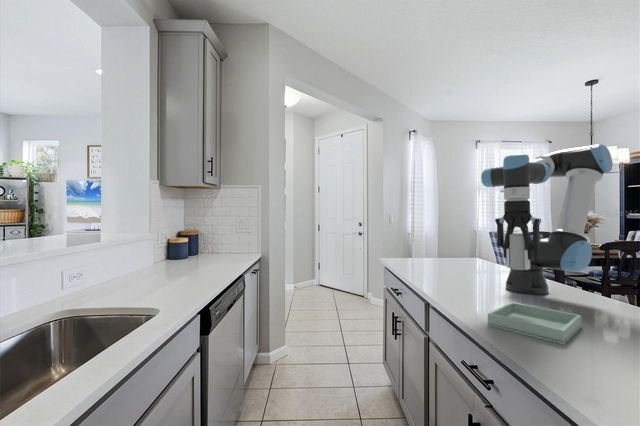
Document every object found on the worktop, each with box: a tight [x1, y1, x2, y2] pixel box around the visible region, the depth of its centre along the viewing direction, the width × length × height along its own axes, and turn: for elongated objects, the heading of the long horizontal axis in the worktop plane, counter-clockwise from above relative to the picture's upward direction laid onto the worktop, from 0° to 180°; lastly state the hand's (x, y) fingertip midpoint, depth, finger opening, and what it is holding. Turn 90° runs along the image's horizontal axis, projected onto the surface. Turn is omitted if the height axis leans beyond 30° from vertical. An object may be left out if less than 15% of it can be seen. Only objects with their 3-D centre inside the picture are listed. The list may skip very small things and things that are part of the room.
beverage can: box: [509, 233, 526, 270], centre depth 107 cm, size 5×5×12 cm
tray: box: [487, 301, 582, 345], centre depth 90 cm, size 18×18×3 cm
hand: (518, 267), depth 107 cm, fingers closed on beverage can, 5 cm apart
